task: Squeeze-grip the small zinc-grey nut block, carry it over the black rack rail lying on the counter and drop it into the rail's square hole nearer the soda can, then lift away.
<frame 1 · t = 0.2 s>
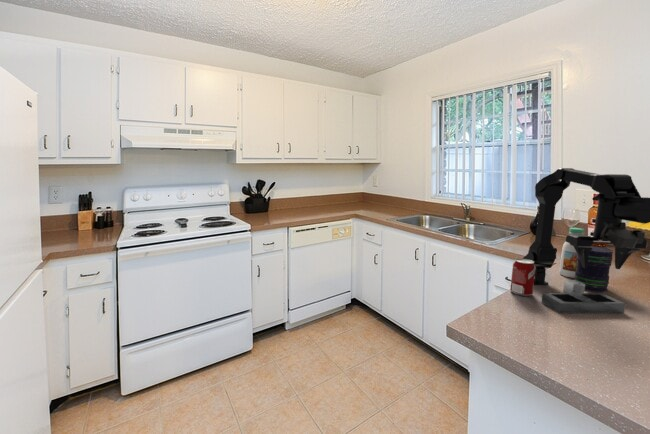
hand: (600, 268, 95), 14 cm above the table, tool pointing down, fingers open, 9 cm apart
storage jar: (589, 287, 118), on the table
rail: (581, 307, 100), on the table
soda can: (521, 293, 112), on the table
nut: (572, 295, 110), on the table
milk bottle: (570, 276, 131), on the table
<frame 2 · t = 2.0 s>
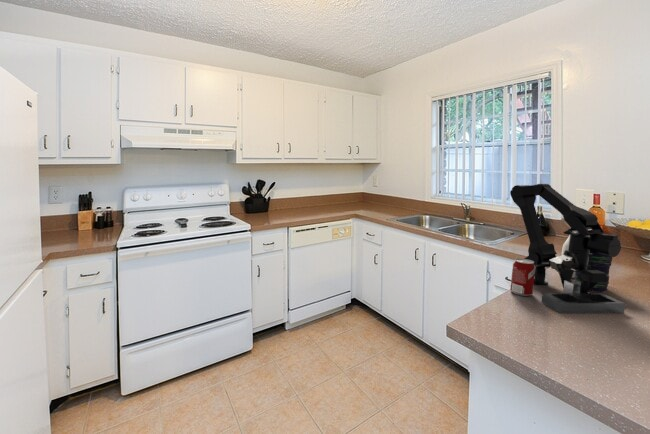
hand: (573, 292, 110), 1 cm above the table, tool pointing down, fingers open, 7 cm apart
nothing on the table moved.
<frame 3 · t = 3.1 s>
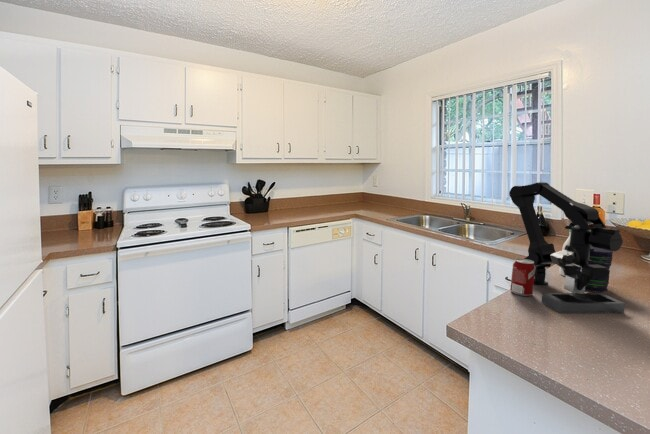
hand: (574, 287, 109), 3 cm above the table, tool pointing down, fingers closed on nut, 4 cm apart
nut: (573, 290, 109), point 2 cm above the table, touching gripper
everything else where it was.
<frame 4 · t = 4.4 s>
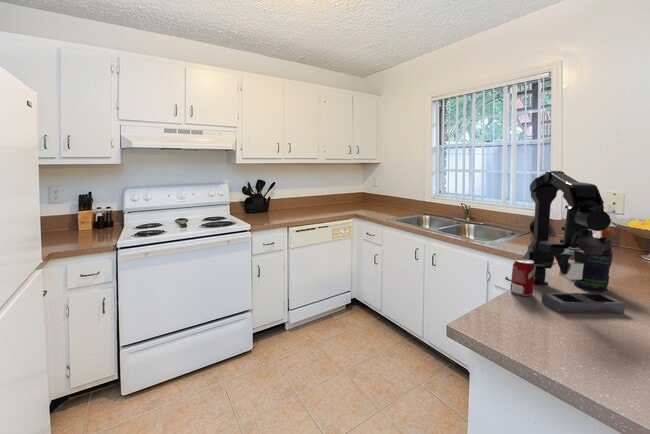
hand: (570, 274, 99), 11 cm above the table, tool pointing down, fingers closed on nut, 4 cm apart
nut: (570, 277, 99), point 10 cm above the table, touching gripper
everything else where it was.
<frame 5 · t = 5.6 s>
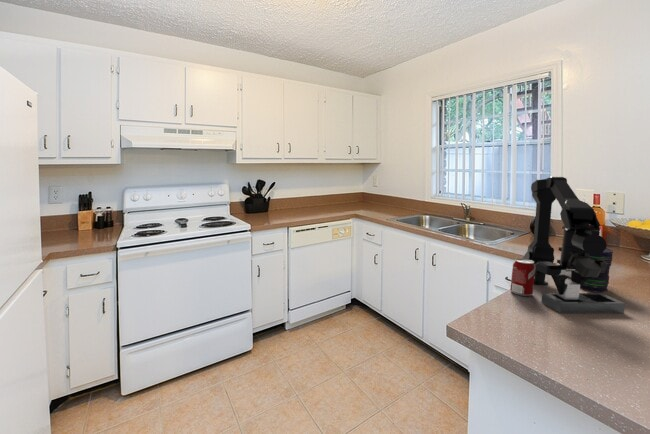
hand: (567, 294, 100), 4 cm above the table, tool pointing down, fingers closed on nut, 4 cm apart
nut: (566, 297, 100), point 3 cm above the table, touching gripper
everything else where it was.
when the fingers open (4 cm above the table, at t = 6.3 s): nut drops 2 cm, resting on rail.
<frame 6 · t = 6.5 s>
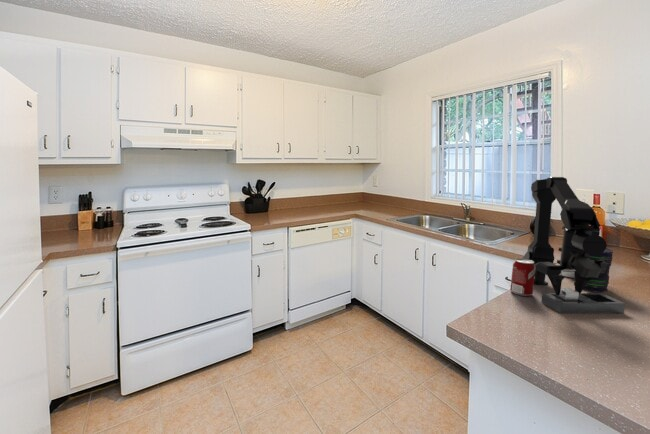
hand: (567, 294, 100), 4 cm above the table, tool pointing down, fingers open, 6 cm apart
nut: (565, 305, 100), point 1 cm above the table, touching rail
everything else where it was.
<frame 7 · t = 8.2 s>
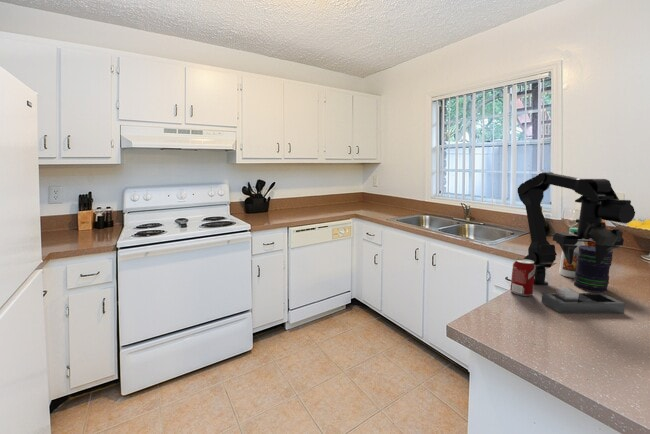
hand: (583, 264, 104), 13 cm above the table, tool pointing down, fingers open, 9 cm apart
nothing on the table moved.
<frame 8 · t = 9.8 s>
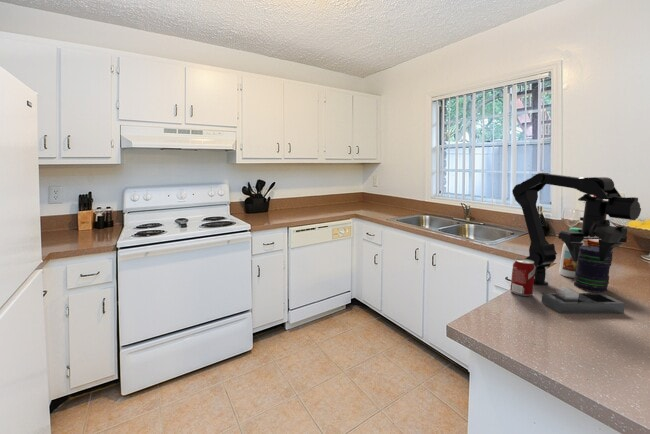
hand: (588, 261, 106), 13 cm above the table, tool pointing down, fingers open, 9 cm apart
nothing on the table moved.
at the end: nut 0.1 cm from the target spot on the rail, point 0.8 cm above the rail's base; the gripper is holding nothing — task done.
